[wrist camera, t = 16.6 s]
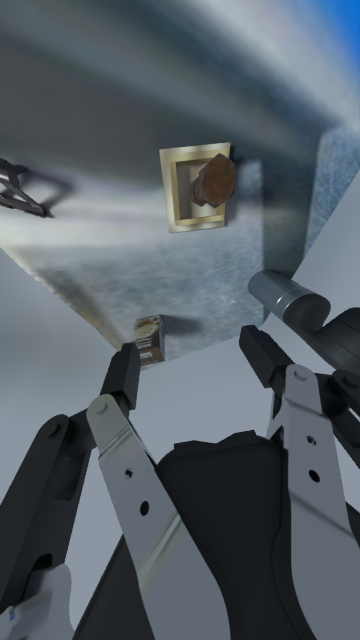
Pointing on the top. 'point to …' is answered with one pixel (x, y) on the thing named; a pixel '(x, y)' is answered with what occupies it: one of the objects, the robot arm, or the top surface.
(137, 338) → the coffee box
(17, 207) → the portable electronic device stand
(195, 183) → the bolt
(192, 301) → the top surface
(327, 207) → the top surface
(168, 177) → the board
